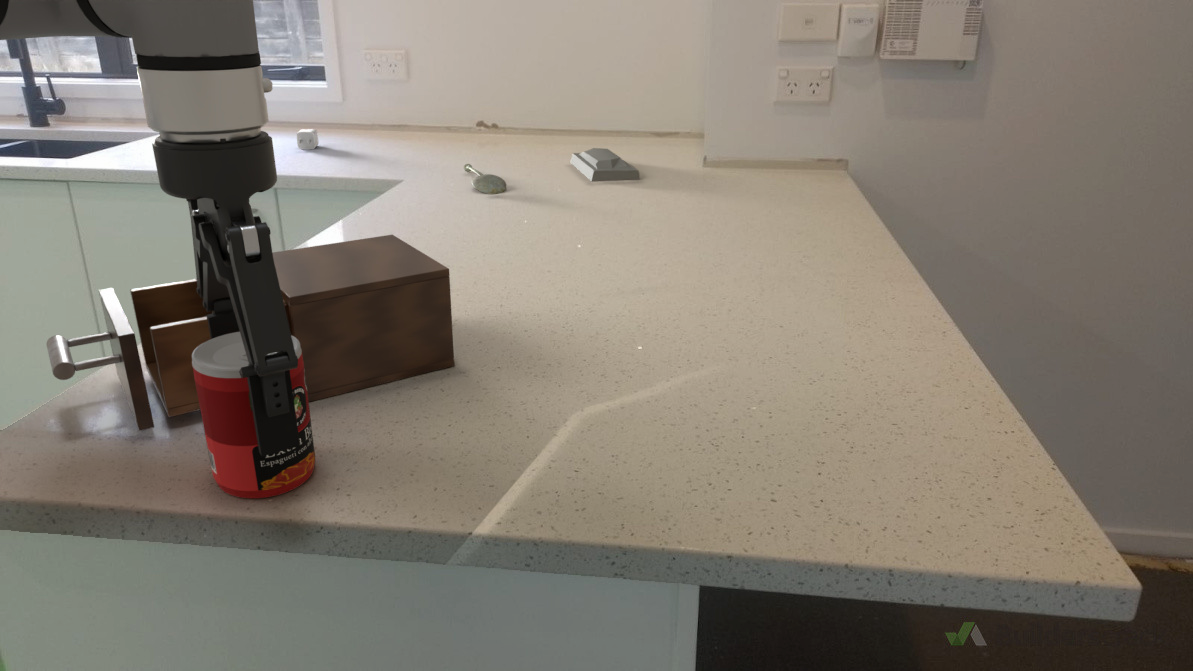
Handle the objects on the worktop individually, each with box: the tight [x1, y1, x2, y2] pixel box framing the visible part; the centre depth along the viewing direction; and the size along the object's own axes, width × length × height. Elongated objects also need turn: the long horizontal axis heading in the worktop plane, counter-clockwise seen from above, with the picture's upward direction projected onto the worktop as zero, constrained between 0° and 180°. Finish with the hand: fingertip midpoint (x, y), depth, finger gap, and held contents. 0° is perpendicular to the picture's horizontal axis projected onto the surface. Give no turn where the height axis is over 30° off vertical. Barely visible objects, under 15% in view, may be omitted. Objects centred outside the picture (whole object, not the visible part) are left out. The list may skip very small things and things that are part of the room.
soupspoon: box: [463, 163, 507, 195], centre depth 168 cm, size 22×3×7 cm
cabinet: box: [272, 234, 455, 403], centre depth 86 cm, size 16×15×11 cm
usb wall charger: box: [295, 128, 319, 150], centre depth 199 cm, size 4×7×4 cm, turn 7°
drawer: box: [46, 278, 292, 432], centre depth 77 cm, size 20×13×9 cm
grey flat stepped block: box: [569, 147, 640, 182], centre depth 180 cm, size 10×20×4 cm, turn 14°
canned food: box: [192, 332, 316, 499], centre depth 65 cm, size 8×8×11 cm
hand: (257, 415), depth 65 cm, fingers open, 12 cm apart
